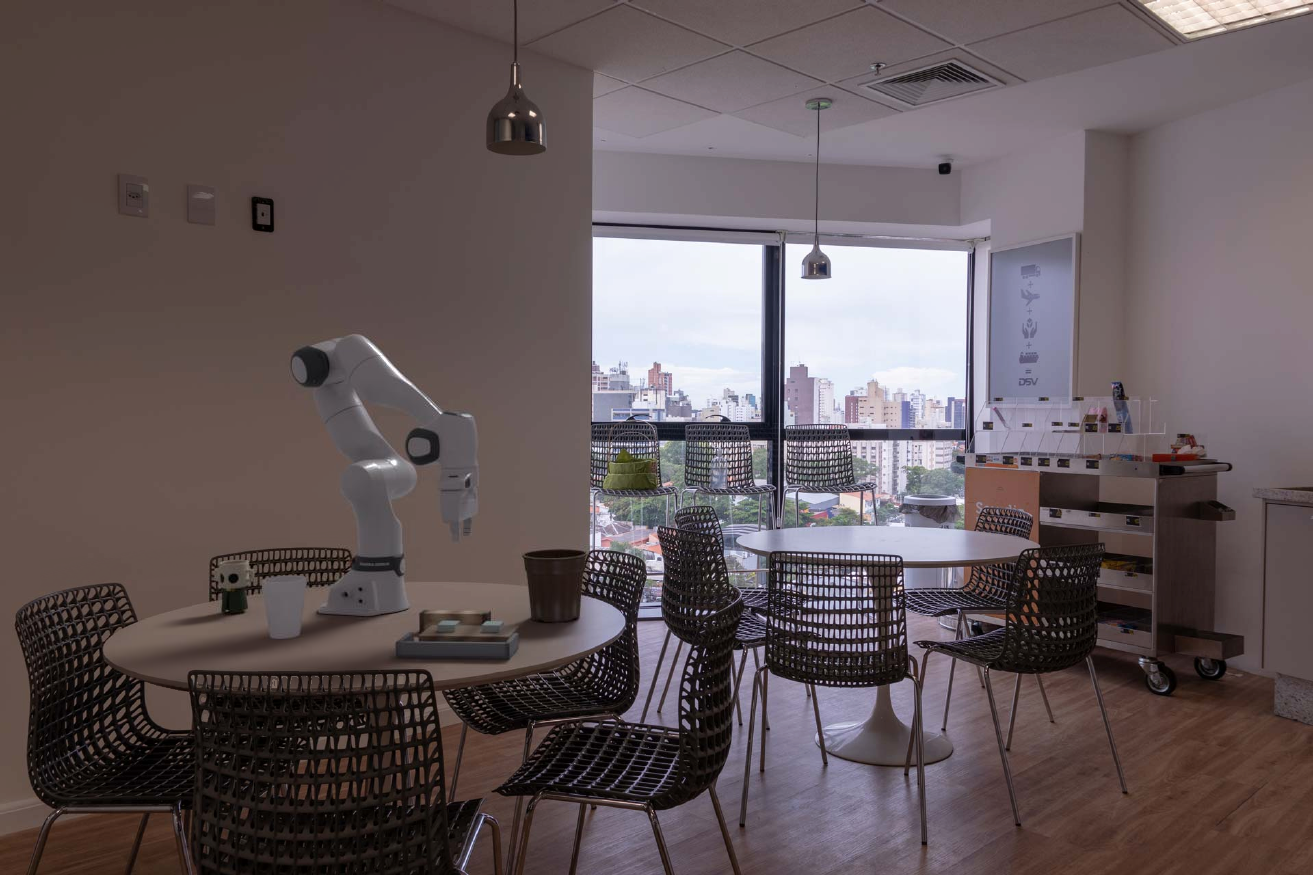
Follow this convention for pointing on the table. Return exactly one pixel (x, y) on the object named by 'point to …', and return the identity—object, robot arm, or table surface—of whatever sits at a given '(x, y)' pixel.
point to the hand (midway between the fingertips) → (462, 538)
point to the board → (468, 634)
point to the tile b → (492, 626)
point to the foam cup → (284, 605)
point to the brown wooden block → (452, 617)
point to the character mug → (234, 584)
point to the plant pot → (555, 583)
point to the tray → (455, 649)
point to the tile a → (448, 626)
